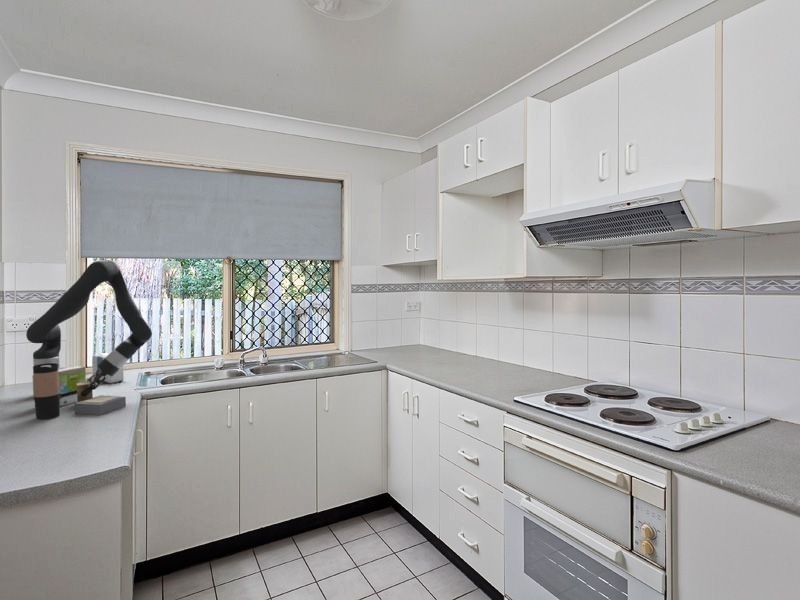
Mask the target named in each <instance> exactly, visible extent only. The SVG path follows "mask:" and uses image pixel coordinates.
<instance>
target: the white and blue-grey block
mask: <svg viewBox="0 0 800 600" xmlns="http://www.w3.org/2000/svg"><path fill="white" fill-rule="evenodd" d="M121 343H122V342H119V344H118V345H117V346H115V348H114V349H113V350H115V349H116V348H117V347H118V346H119V345H120V344H121ZM109 353H110V352H104V353H96V354H93V355H92V359H91V361H92V362H91V363H92V375H93V374H94V373H95V372H96V371H97V370H100V369H99V368H98V367H97V365H98V364H99V363H100V362H101V361H102V360H103V359H104V358H105V357H106V356H107V355H108V354H109ZM105 377H106V379H105V380H104V381H103V382H106V383H108V384H111V383H112V384H115V383H114V382H116V383H119V381H122V382H124V379H125V378H124V365H123V366H122V367H121V368H120V369H119V370H118V371H117V372H116V373H115V374H114V375H113V376H109V375H106V376H105Z"/></svg>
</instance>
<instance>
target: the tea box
mask: <svg viewBox="0 0 800 600" xmlns="http://www.w3.org/2000/svg"><path fill="white" fill-rule="evenodd" d="M58 374H59V391H60V407H61V406H66V405H70V404H75V403H77V402H78V401H77V383H83V382H86V381H87V380H86V379H87V378H86V366H77V365H76V366H74V365H73V366H71V365H67V366H66V365H65V366H60V368H58Z"/></svg>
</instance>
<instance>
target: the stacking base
mask: <svg viewBox="0 0 800 600" xmlns="http://www.w3.org/2000/svg"><path fill="white" fill-rule="evenodd" d="M126 398H127V397H126V396H120V395H118V396H117V395H103V394H101V395H98V396H95V397H93V398H91V399H87V400H84V401H81V402H78V401H77V402H74V414H76V413H77V414H79V415H91V416H92V415H94V416H95V415H96V416H103V415H105V414H108V413H110V412H113V411H116V410H120V409H123V408H125V407H127V404H126V403H127V401H126Z"/></svg>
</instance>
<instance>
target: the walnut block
mask: <svg viewBox="0 0 800 600" xmlns="http://www.w3.org/2000/svg"><path fill="white" fill-rule="evenodd" d="M89 384H90V382H83V383H77V402H81V401H84V400H87V399H91V398H94V397H93V390H92V391H91V392H90V393H89V394H88V395H87V396H86V397H83V396H82V395H81V392H82V391H83V390H84V389H85V388H86V387H88V385H89Z"/></svg>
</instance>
